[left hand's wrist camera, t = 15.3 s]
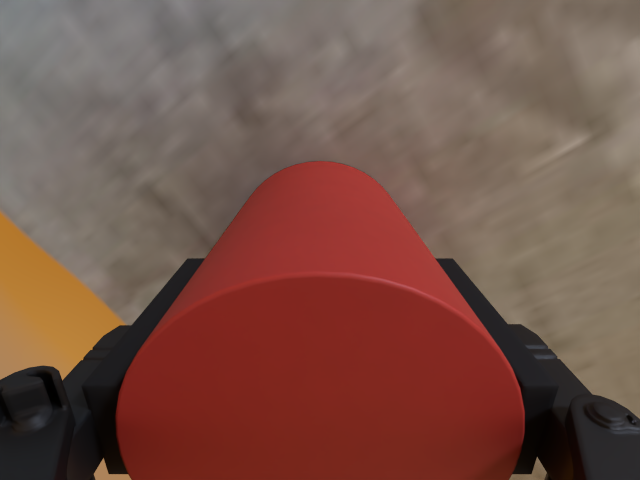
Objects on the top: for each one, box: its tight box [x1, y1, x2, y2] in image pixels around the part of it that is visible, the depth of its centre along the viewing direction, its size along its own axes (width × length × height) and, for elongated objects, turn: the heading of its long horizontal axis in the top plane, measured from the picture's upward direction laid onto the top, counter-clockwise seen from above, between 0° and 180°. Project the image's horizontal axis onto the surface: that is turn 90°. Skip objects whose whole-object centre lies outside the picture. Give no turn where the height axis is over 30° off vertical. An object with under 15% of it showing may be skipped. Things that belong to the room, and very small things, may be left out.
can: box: [116, 161, 525, 480], centre depth 13 cm, size 9×9×12 cm
